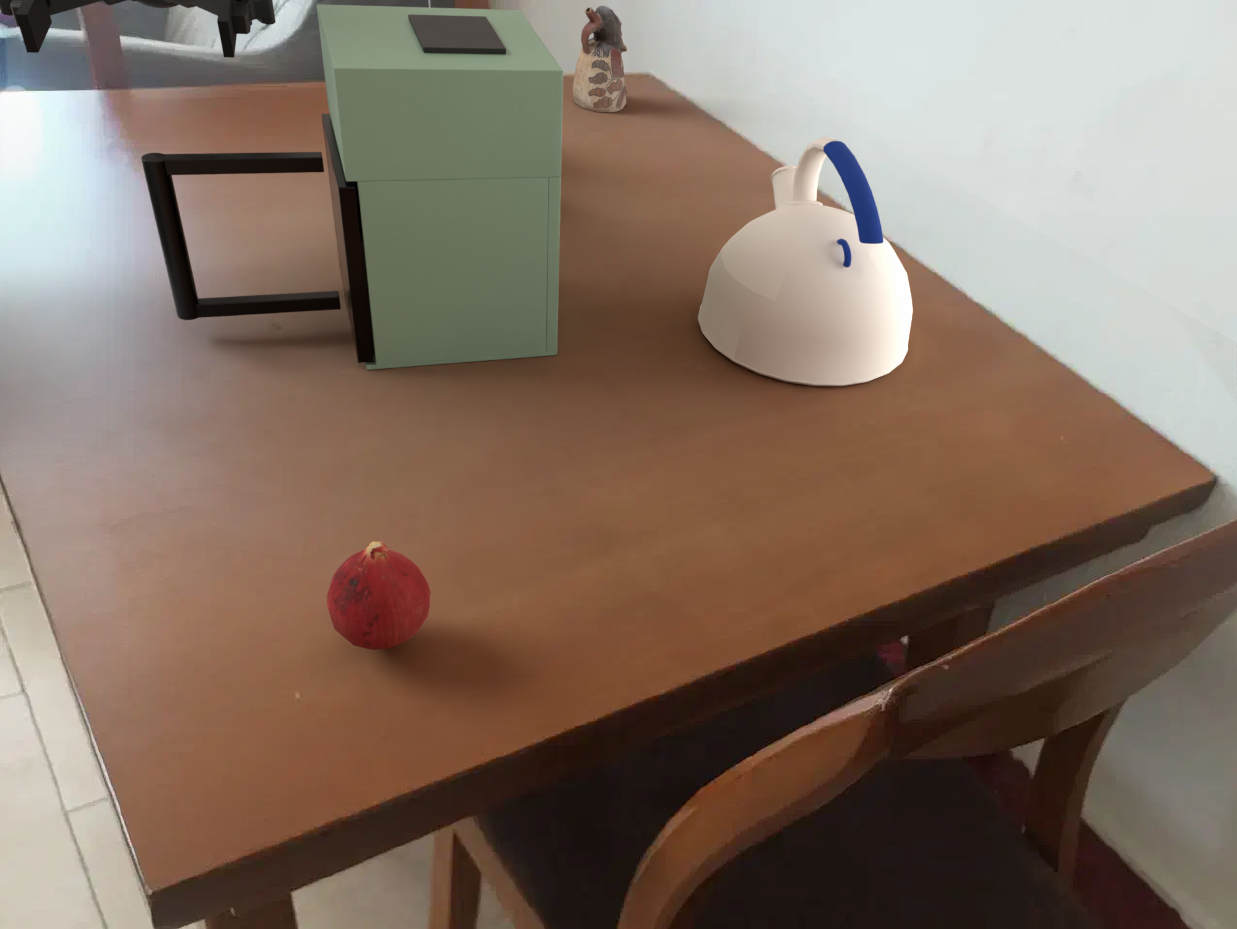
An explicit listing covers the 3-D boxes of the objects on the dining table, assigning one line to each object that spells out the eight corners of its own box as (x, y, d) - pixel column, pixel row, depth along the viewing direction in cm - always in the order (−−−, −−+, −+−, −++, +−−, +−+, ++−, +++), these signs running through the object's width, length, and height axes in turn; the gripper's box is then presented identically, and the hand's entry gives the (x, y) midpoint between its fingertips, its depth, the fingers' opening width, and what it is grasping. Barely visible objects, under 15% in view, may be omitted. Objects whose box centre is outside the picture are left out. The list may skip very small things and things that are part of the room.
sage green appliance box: (366, 370, 89) (333, 62, 74) (348, 284, 100) (315, -2, 84) (557, 355, 95) (563, 64, 79) (521, 275, 105) (520, 4, 89)
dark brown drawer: (179, 377, 84) (135, 192, 75) (181, 286, 95) (142, 113, 85) (539, 349, 94) (540, 182, 84) (504, 269, 104) (502, 112, 95)
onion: (376, 693, 64) (364, 594, 59) (314, 644, 66) (296, 545, 61) (452, 642, 68) (446, 545, 62) (391, 597, 70) (380, 500, 65)
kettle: (856, 276, 114) (894, 100, 102) (944, 381, 99) (999, 191, 88) (671, 283, 108) (689, 97, 96) (736, 396, 93) (766, 193, 81)
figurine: (635, 110, 144) (642, 13, 136) (587, 114, 141) (591, 15, 133) (611, 91, 148) (615, -3, 141) (563, 95, 145) (566, -2, 137)
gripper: (-21, -107, 91) (-82, -25, 76) (297, -88, 98) (296, -9, 83) (9, -11, 96) (-43, 83, 81) (308, 1, 103) (310, 89, 88)
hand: (128, 37), depth 82 cm, fingers open, 13 cm apart
